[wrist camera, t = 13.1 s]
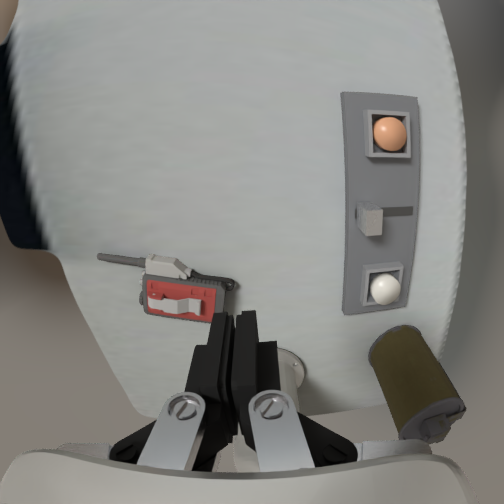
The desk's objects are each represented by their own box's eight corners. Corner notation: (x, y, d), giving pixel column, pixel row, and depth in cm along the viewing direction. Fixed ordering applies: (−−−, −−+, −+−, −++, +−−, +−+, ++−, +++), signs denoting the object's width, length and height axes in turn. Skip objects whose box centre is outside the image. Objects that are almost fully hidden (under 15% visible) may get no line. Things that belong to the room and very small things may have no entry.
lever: (371, 202, 35) (382, 209, 32) (371, 225, 36) (381, 234, 33) (357, 202, 35) (366, 210, 32) (356, 226, 36) (366, 236, 33)
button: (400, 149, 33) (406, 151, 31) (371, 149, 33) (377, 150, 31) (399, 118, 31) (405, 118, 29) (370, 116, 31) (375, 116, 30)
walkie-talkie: (237, 263, 41) (100, 245, 40) (235, 278, 37) (86, 258, 36) (230, 316, 45) (105, 296, 44) (228, 334, 41) (94, 312, 40)
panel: (401, 301, 43) (408, 311, 40) (341, 309, 43) (346, 320, 41) (411, 97, 31) (422, 96, 29) (340, 92, 32) (347, 90, 29)
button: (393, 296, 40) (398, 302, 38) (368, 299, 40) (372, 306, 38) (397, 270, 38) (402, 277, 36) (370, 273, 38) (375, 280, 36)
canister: (364, 374, 49) (395, 465, 31) (371, 330, 45) (416, 428, 27) (416, 363, 49) (457, 443, 30) (428, 319, 45) (484, 402, 26)
